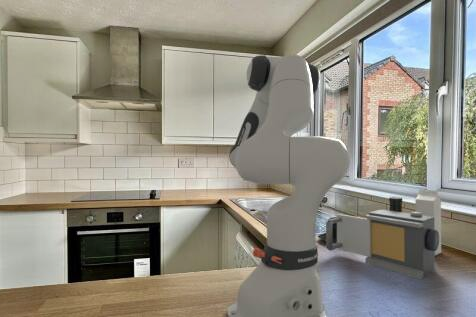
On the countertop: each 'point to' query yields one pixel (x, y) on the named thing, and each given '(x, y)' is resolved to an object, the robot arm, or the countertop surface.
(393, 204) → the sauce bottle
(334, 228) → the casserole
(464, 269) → the countertop surface
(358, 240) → the side door
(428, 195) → the milk
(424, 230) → the camera case
